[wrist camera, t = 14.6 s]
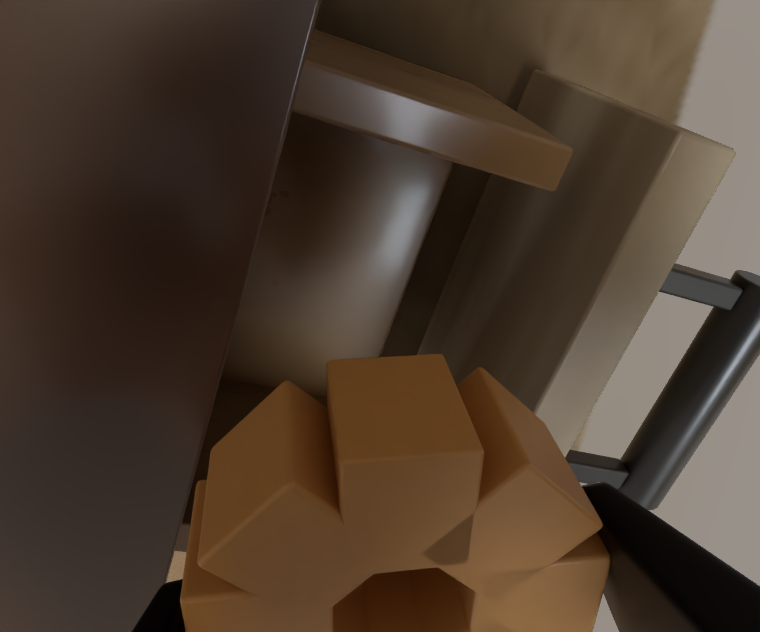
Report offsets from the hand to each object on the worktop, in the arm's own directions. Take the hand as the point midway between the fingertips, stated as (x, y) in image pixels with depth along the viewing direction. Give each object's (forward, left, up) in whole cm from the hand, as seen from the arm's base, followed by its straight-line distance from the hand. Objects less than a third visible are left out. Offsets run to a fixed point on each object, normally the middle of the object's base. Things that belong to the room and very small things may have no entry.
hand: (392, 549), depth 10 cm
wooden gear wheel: (0, 0, -1) cm, 1 cm away
